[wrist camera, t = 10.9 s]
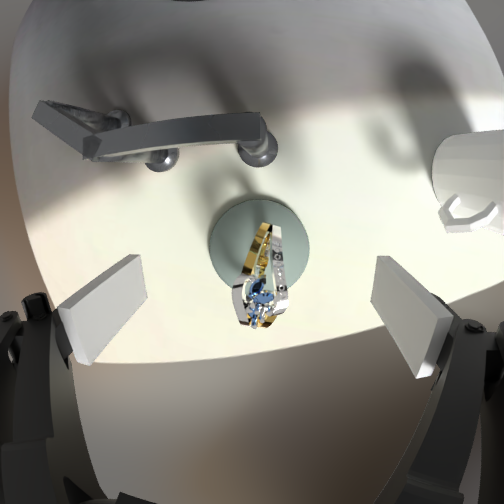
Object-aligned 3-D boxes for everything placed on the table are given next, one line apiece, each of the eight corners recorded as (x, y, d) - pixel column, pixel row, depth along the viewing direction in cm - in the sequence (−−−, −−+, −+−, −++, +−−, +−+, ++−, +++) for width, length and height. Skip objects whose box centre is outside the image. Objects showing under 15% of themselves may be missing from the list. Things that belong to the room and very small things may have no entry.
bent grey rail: (141, 64, 18) (77, 22, 9) (285, 143, 20) (297, 118, 10) (99, 134, 20) (20, 126, 11) (231, 221, 22) (201, 258, 12)
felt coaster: (245, 179, 21) (245, 179, 20) (327, 237, 22) (329, 238, 21) (194, 259, 23) (192, 261, 22) (271, 309, 24) (271, 313, 23)
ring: (269, 300, 23) (270, 359, 15) (233, 291, 23) (217, 346, 15) (294, 221, 21) (309, 249, 13) (254, 210, 21) (246, 232, 13)
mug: (384, 170, 20) (454, 172, 10) (470, 125, 17) (540, 117, 8) (416, 252, 22) (481, 297, 12) (494, 198, 19) (560, 216, 10)
